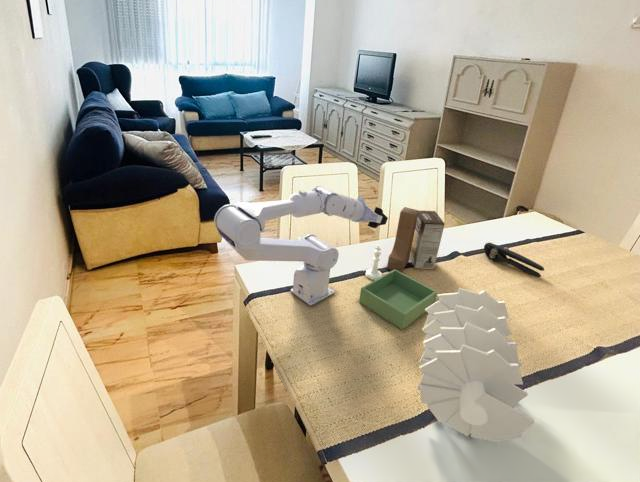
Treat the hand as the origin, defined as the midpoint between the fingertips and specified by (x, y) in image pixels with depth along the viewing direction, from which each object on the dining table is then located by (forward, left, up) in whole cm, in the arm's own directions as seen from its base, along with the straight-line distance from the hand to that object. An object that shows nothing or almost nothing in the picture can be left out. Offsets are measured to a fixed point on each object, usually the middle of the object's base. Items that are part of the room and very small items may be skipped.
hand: (374, 216), depth 111 cm
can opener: (+40, -26, -18) cm, 51 cm away
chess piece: (-1, -3, -18) cm, 18 cm away
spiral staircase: (-21, -39, -18) cm, 48 cm away
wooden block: (+10, -4, -18) cm, 21 cm away
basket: (-7, -15, -18) cm, 25 cm away
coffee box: (+18, -7, -18) cm, 26 cm away
